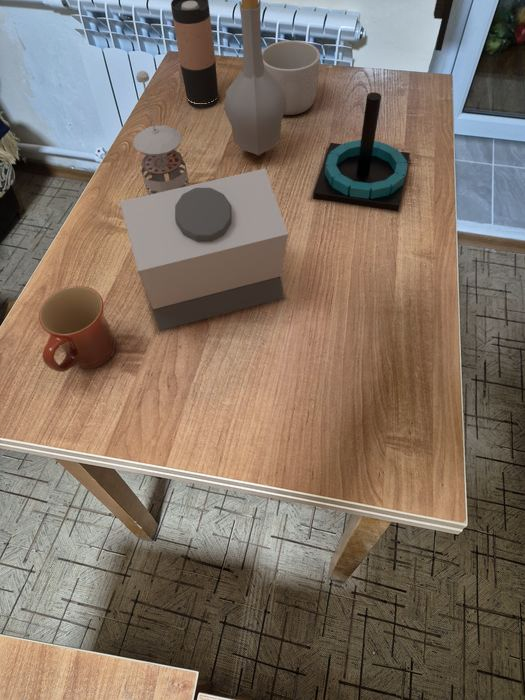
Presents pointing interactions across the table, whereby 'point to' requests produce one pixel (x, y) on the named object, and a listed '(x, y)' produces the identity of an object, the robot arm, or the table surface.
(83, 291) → the mug
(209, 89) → the travel mug
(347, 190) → the ring
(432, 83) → the table surface
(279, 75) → the planter
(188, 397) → the table surface
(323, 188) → the post
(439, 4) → the robot arm
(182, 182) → the french press
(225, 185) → the alarm clock
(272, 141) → the bottle
